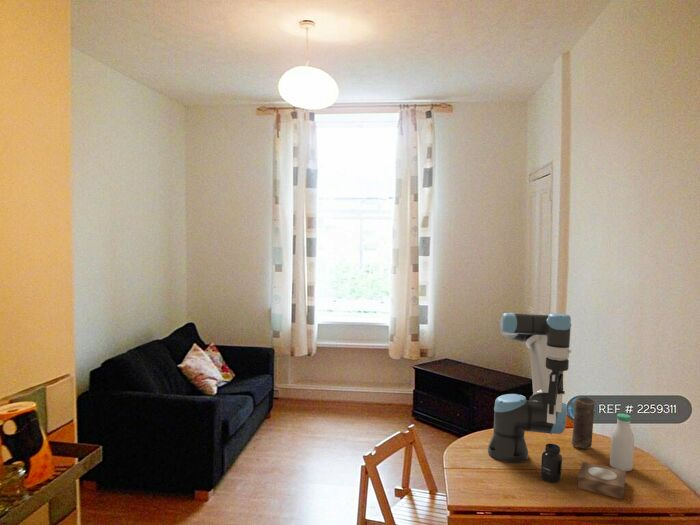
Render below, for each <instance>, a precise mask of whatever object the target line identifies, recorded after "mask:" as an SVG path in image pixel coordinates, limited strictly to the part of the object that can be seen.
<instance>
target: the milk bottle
mask: <svg viewBox="0 0 700 525" xmlns="http://www.w3.org/2000/svg"><path fill="white" fill-rule="evenodd" d="M616 418H617V419H616V421H617V423H616V424H615V427H614V429H612V432H611V439H610V453H609V466H610V468H613V469H618V470H622V471H626V472H630V471H632V470H633V465H634V453H635V452H634V450H635V437H634V433H633V431H632V428H631V421H632V417H631V415H629V414H626V413H618V414H617V415H616Z"/></svg>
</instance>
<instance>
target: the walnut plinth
mask: <svg viewBox="0 0 700 525" xmlns="http://www.w3.org/2000/svg"><path fill="white" fill-rule="evenodd" d="M626 475H627V471H622V470H618V469H615V468H613V467H609V466H604V465H599V464H596V463H590V462H587V461H582V462H581V466H580V470H579V472H578V475H577V488H578V489H579V490H585V491H589V492H593V493H596V494H597V493H598V494H600V495H604V496H609V497H613V498H618V499H621V500H624V494H625V488H626Z"/></svg>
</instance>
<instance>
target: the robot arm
mask: <svg viewBox="0 0 700 525" xmlns="http://www.w3.org/2000/svg"><path fill="white" fill-rule="evenodd" d="M571 319H572V318H571V316H570V315H569V314H566V313H562V312H561V313H560V312H559V313H558V312H557V313H556V312H553V313H548V314H534V313H533V314H528V313H514V312H505V313H504V312H503V314H502V316H501V318H500V319H499V320H498V322H497V326H496V327H497V331H498V333H499V334H500V336H502V337H504V338H506V339H508V340H511V341H515V342H524V343H525V346H526V347H527V349H529V355H530V367H531V368H530V369H531V370H530V371H531V380H532V381H531V382H532V392H533V393H532V395H531V396H530V397H529V399H528V400H527V398H526V396H524V395H522V394H518V393H507V394H506V393H505V394H502V395H500V396H498V397H496V399H495V401H494V407H493V410H494V416H493V418H494V420H493V433H492V436H491V439H490V441H489V444H488V447H487V453H488V455H489V456H490V457H492V458H493V459H495V460H498V461H501V462H505V463H510V464H511V463H512V464H513V463H514V464H515V463H516V464H518V463H524V462H526V461H527V460H528V459H529V450H528V445H527V443H526V438H525V432H531V433H532V432H533V433H542V434H549V435H552V434H554V435H555V434H556V435H560V434H563V433H564V431H565V428H566V422H567V415H568V407H567V404H566V403H564V402H563V395H565V394H566V393H565V392H566V391H565V390H564V372H566V371H568V370H569V363H570V360H569V357H570V353H572V350H571V349H570V345H571V344H570V343H571V327H572V322H571V321H572V320H571Z"/></svg>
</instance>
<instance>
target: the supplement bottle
mask: <svg viewBox="0 0 700 525" xmlns="http://www.w3.org/2000/svg"><path fill="white" fill-rule="evenodd" d="M562 468H563V456H562V455H561V447H560V445H558V444H556V443H555V444H554V443H546V444H545V448H544V451H543V452H542V453H541V465H540V478H541V479H542V480H543V481H546V482H548V483H551V484H552V483H553V484H556V483H559V482H561V480H562V473H563V472H562V470H563V469H562Z"/></svg>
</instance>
